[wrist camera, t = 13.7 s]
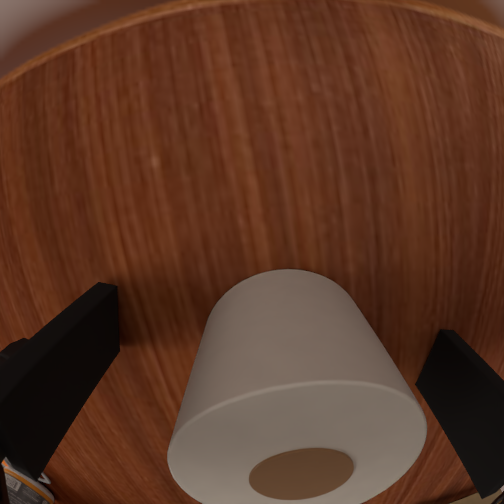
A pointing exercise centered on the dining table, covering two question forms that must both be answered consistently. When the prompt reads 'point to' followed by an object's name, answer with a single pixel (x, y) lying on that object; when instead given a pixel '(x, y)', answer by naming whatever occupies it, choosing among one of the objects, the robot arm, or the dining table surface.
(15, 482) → the pill bottle
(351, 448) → the paper roll
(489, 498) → the drawer
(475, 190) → the dining table surface
